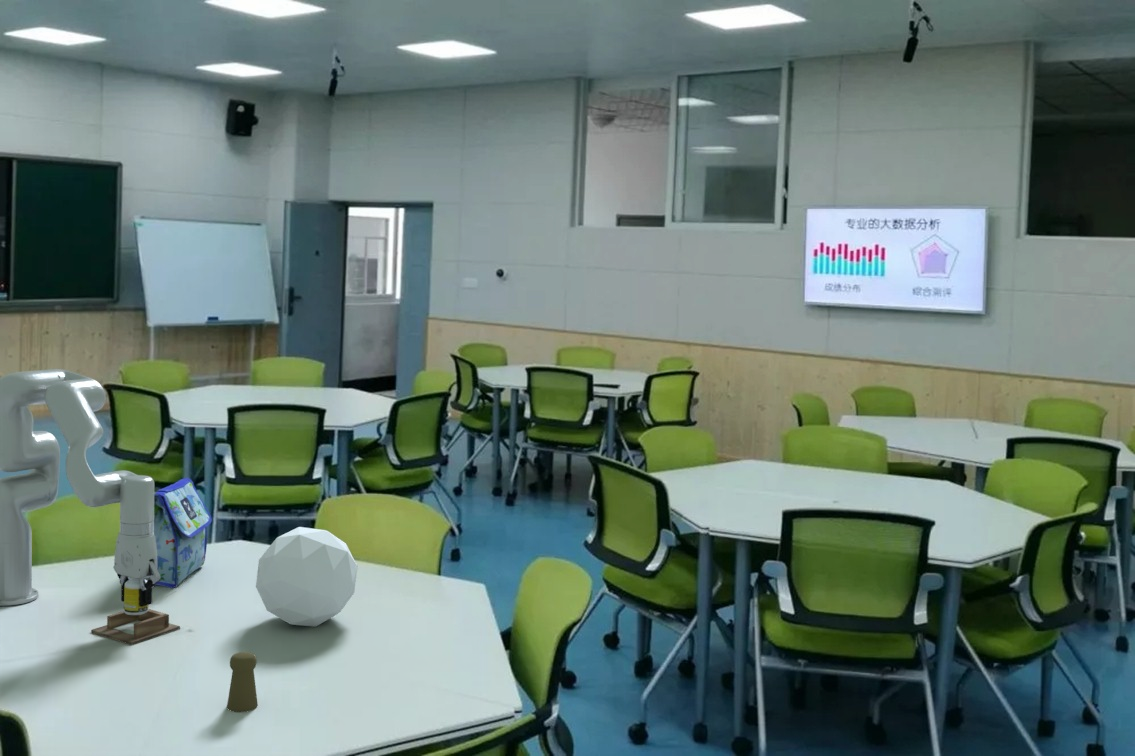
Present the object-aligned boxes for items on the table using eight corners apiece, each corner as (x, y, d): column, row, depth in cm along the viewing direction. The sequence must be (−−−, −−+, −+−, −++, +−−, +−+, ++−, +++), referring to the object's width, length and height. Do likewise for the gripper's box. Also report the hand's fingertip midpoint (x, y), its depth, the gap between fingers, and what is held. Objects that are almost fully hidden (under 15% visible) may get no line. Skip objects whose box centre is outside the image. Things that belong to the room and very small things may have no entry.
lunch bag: (186, 589, 295) (188, 494, 292) (124, 586, 295) (125, 491, 292) (214, 566, 317) (215, 478, 314) (157, 563, 317) (158, 474, 314)
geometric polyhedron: (305, 645, 282) (335, 555, 294) (357, 637, 264) (387, 542, 277) (224, 611, 269) (259, 519, 282) (273, 600, 252) (309, 502, 264)
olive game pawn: (230, 700, 225) (231, 648, 224) (260, 700, 225) (261, 648, 224) (223, 712, 219) (224, 658, 218) (254, 712, 219) (255, 659, 218)
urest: (91, 632, 259) (91, 617, 259) (140, 617, 271) (140, 602, 271) (131, 644, 252) (131, 629, 252) (179, 628, 265) (180, 614, 264)
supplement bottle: (140, 616, 258) (140, 576, 257) (119, 614, 259) (119, 574, 258) (153, 610, 263) (153, 570, 262) (132, 607, 264) (133, 568, 263)
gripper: (99, 525, 260) (99, 599, 262) (149, 537, 252) (148, 613, 254) (125, 519, 267) (125, 592, 268) (175, 530, 258) (174, 605, 260)
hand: (136, 601), depth 261 cm, fingers closed on supplement bottle, 5 cm apart
